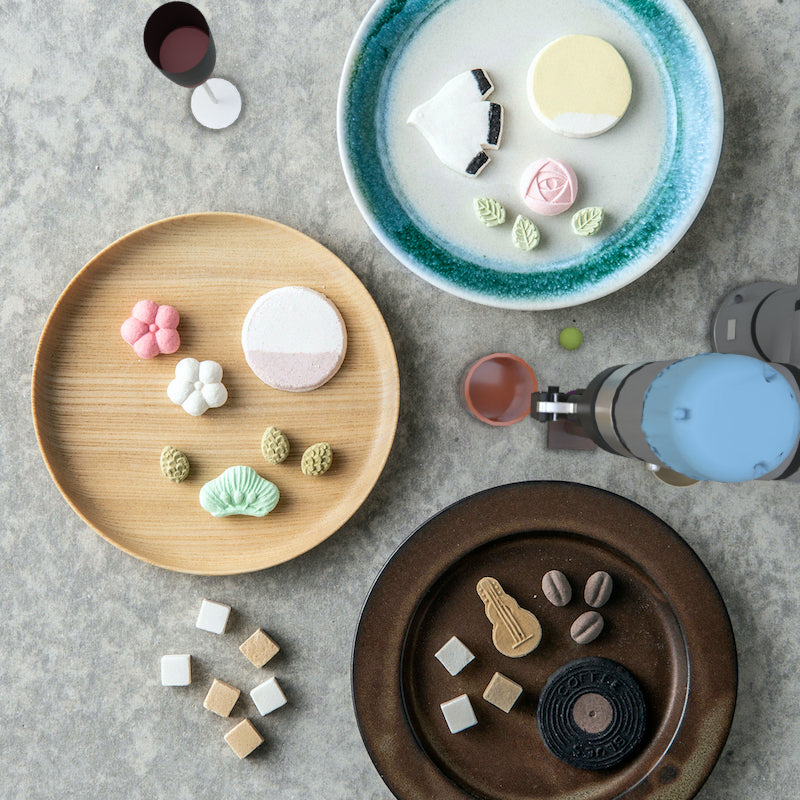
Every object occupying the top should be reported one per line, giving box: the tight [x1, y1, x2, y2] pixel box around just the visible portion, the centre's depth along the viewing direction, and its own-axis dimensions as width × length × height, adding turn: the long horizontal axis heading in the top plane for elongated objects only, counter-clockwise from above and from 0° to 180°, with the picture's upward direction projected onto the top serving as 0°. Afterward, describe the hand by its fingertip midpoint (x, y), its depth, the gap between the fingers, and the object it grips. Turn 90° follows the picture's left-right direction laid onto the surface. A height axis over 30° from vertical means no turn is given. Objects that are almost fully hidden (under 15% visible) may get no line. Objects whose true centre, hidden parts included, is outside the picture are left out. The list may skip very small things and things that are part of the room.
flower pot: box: [644, 462, 703, 489], centre depth 105 cm, size 10×10×7 cm
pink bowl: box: [458, 352, 539, 427], centre depth 104 cm, size 10×10×8 cm
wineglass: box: [142, 0, 243, 130], centre depth 96 cm, size 8×9×20 cm
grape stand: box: [546, 419, 596, 451], centre depth 97 cm, size 7×7×22 cm
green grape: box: [558, 326, 584, 351], centre depth 106 cm, size 3×3×3 cm
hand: (564, 405), depth 79 cm, fingers closed on purple grape, 3 cm apart
